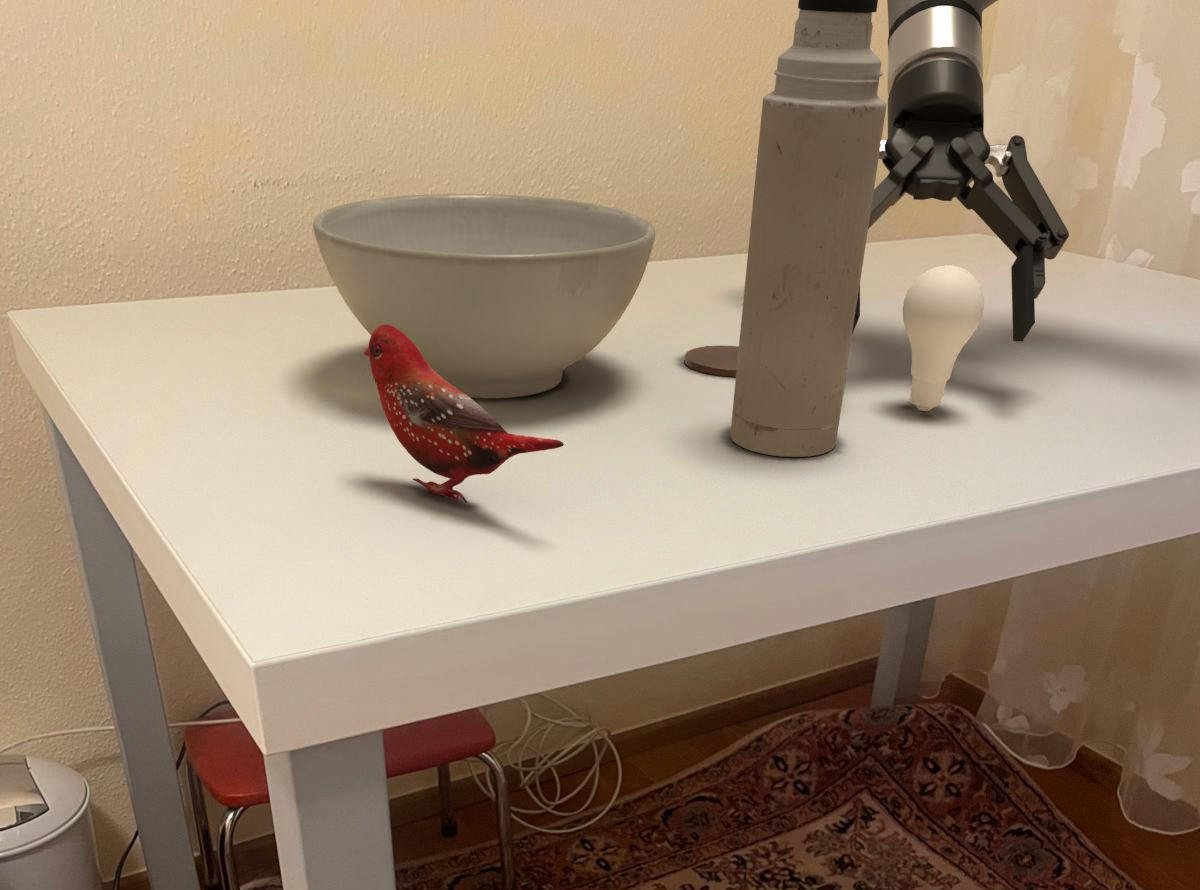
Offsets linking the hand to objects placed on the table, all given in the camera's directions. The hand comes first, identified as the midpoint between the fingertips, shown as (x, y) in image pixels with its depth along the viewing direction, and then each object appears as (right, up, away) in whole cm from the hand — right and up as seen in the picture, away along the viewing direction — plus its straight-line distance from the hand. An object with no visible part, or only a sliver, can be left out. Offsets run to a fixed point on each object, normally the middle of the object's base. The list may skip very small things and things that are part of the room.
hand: (937, 329), depth 94 cm
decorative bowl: (-36, -1, +7) cm, 37 cm away
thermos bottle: (-13, -10, -3) cm, 17 cm away
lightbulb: (0, -5, +4) cm, 7 cm away
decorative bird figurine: (-35, -18, -16) cm, 43 cm away
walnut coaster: (-15, +2, +13) cm, 20 cm away
